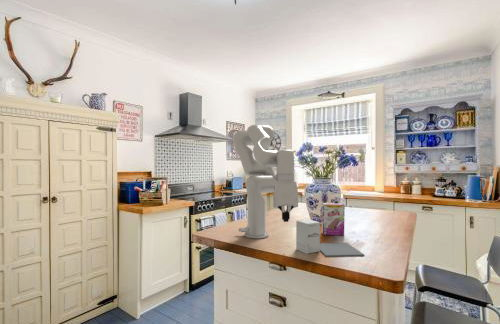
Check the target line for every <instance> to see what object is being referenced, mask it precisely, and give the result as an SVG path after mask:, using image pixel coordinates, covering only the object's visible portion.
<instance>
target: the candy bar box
mask: <svg viewBox="0 0 500 324" xmlns="http://www.w3.org/2000/svg"><path fill="white" fill-rule="evenodd" d="M345 207H346V206H345V204H343V203H335V202H334V203H330V202H329V203H328V202H322V203H321V234H322V235H323V236H343V237H344V236H345V209H346V208H345Z"/></svg>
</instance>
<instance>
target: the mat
mask: <svg viewBox="0 0 500 324" xmlns="http://www.w3.org/2000/svg"><path fill="white" fill-rule="evenodd" d="M319 252H320V253H321V254H322V255H323V256H324V257H326V258H330V257H333V258H334V257H338V258H339V257H365V253H363V252H361V251H360V250H358V249H357V248H356V247H354V246H352V245H351V244H349V243H348V242H320V251H319Z"/></svg>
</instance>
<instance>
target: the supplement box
mask: <svg viewBox="0 0 500 324" xmlns="http://www.w3.org/2000/svg"><path fill="white" fill-rule="evenodd" d="M295 222H296V223H295V224H296V228H295V229H296V230H295V231H296V233H295V235H296V237H295V241H296V242H295V244H296V245H295V246H296V247H295V248H296V250H297V251H299V252H302V253H304V254H306V255H308V254H312V253H318V252H319V253H320V252H321V251H320V243H321V242H320V241H321V222H319V221H316V220H313V219H303V220H296V221H295Z"/></svg>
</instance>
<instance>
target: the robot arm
mask: <svg viewBox="0 0 500 324" xmlns="http://www.w3.org/2000/svg"><path fill="white" fill-rule="evenodd" d="M274 134H275V133H274V129H273V127H272V126H270V125H267V124H265V125H264V124H251V125H249V126H248V127H247V129H246V130H245V129H244V130H243V129H242V130H238V131H236V132H235V133H234V134H233V138H232V141H233V143H232V144H233V147H234V149H235V152H236V154H237V155H238V156H239V159H240V163H241V165H242V169H243V172H244V174H245V175H246V176H247V178H246V180H245V188H246V196H247V199H246V200H247V225H246V227H245V226H244V227H238V232H241V233H244V236H245V237H246V238H249V239H255V240H256V239H264V238H267V237H269V235H270V234H269V232H268V231H266V225H267V224H266V221H267V220H266V215H267V214H266V211H267V210H266V209H267V208H266V205H267V203H266V200H265V198H264V195H263V194H269V193H273V204H272V207H273V208H275V209H279V211H280V212H281V219H282V221H283V223H288V222H289V220H290V218H291V217H290V216H291V214H290V213H291V211H292V210H293V209H296V208H298V207H299V191H298V184H297V181H295V154H294V151H293V150H292V149H279V150H271V149H270V150H268V149H269V148H270V147H271V145H272V140H273V138H274ZM249 146H250V147H249ZM251 146H253V147H252V149H251ZM274 168H276V172H275V170H274ZM285 206H286V207H285ZM285 208H286V210H285Z"/></svg>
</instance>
